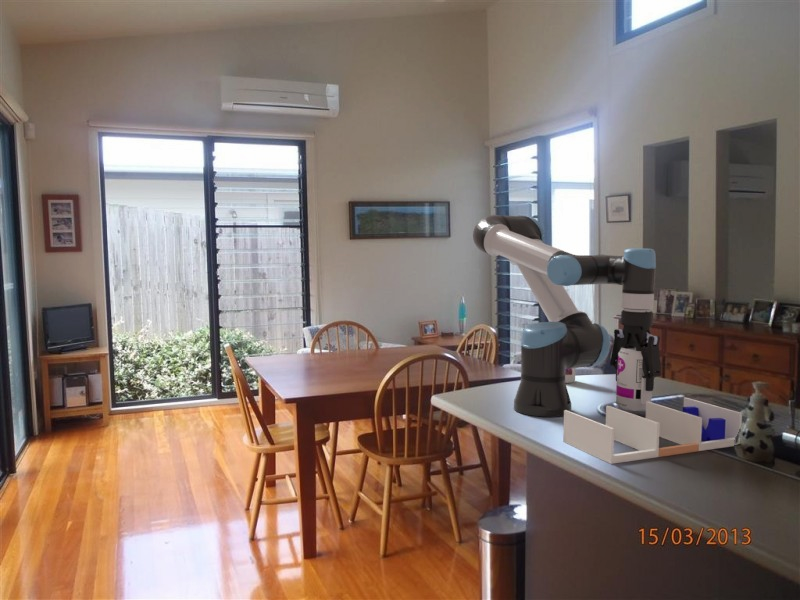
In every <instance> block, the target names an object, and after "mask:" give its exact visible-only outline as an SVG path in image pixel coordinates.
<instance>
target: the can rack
mask: <svg viewBox="0 0 800 600" xmlns="http://www.w3.org/2000/svg"><path fill="white" fill-rule="evenodd" d="M694 406H695V407H697V408H698V414H699V417H698V416H694V415H691V414H688V413H684V412H683V411H682V410H679V409H678V410H677V409H674V408H671V407H668V406H665V405H663V404H662V405H661V404H658V403H654V402H652V401H651V402H648V401H647V402H646V410H645V417H642V416H639V415H637V414H634V413H631V412H629V411H625V410H622V409H621V408H620V409H619V408H616V407H613V406H612V405H606V406H605V407H606V409H605V424H603V423H601V422H599V421H595V420H593V419H590V418H588V417H585V416H582V415H580V414H577V413H575V412H572V411H571V412H570V411H567V410H564V415H563V441H562V442H563V443H566V444H567V445H570V446H572V447H574V448H575V449H578V450H580V451H582V452H583V453H584V452H585V453H587V454H589V455H591V456H593V457H595V458H596V459H599V460H602V461H603V462H606V463H609V464H610V465H612V464H620V463H626V462H627V463H628V462H633V461H634V462H635V461H641V460H648V459H654V458H661V457H662V458H663V457H668V456H674V455H680V454H681V455H682V454H688V453H694V452H696V453H697V452H701V451H708V450H714V449H723V448H729V447H735V446H734V440H735V437H736V436H737V434H738V432H739V429H740V427H741V425H742V421H743V412H740V411H736V410H732V409H729V408H726V407H721V406H719V405H714V404H711V403H708V402H703V401H701V400H697V399H693V398H689V397H683V407H694ZM709 418H723V419H725V420H726V423H725V439H720V440H713V441H706V442H703V441H701V434H702V426H703V427H704V429H705V430H706V428H707V426H708V422H709ZM741 428H742V427H741ZM660 438H662V439H664V440H668V441H670V442H673V443H676V444H677V445H673V446H671V445H670V446H664V447H660ZM615 441H616V442H617V443H620V444H623V445H625V446H628V447H630V448H633V449H635V451H628V452H621V453H614V452H615V450H614V447H615Z"/></svg>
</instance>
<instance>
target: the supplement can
mask: <svg viewBox="0 0 800 600" xmlns="http://www.w3.org/2000/svg"><path fill="white" fill-rule="evenodd" d="M642 361H643V357H642V354H641V351H636V348H635V347H634V348H623V347H621V350H620V351H619V353H618V370H617V381H616V385H617V393H616V392H615V393H616V394H615V397H616V398H615V403H616V405H618V407H619V408H620V409H624V410H627V411H636V412H637V411H639V412H642V411H646V404H641V381H642V376H644V372H643V369H642ZM649 373H650V371H649Z"/></svg>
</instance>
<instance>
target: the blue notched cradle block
mask: <svg viewBox="0 0 800 600" xmlns="http://www.w3.org/2000/svg"><path fill="white" fill-rule="evenodd" d="M682 412H684V413H688V414H691V415H694V416H698V417H699V414H698V408H697V407H695V406H694V407H684V406H682ZM725 423H726V420H725V419H723V418H709V422H708V426H707V428H706V430H705V429H704V427H703V426H702V434H701V442H706V441H713V440H720V439H725Z"/></svg>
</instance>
